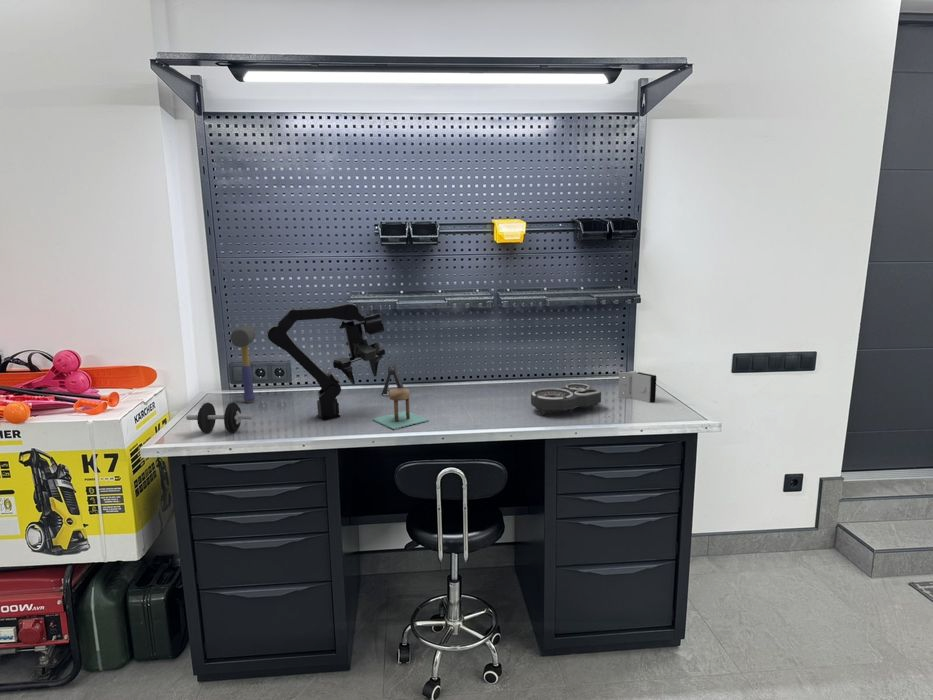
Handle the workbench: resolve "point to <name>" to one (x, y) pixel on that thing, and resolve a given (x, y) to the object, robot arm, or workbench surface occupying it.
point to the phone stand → (396, 376)
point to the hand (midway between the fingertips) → (364, 380)
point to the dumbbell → (219, 417)
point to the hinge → (637, 386)
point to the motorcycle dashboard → (565, 398)
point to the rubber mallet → (245, 357)
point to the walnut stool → (400, 395)
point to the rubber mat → (400, 420)
